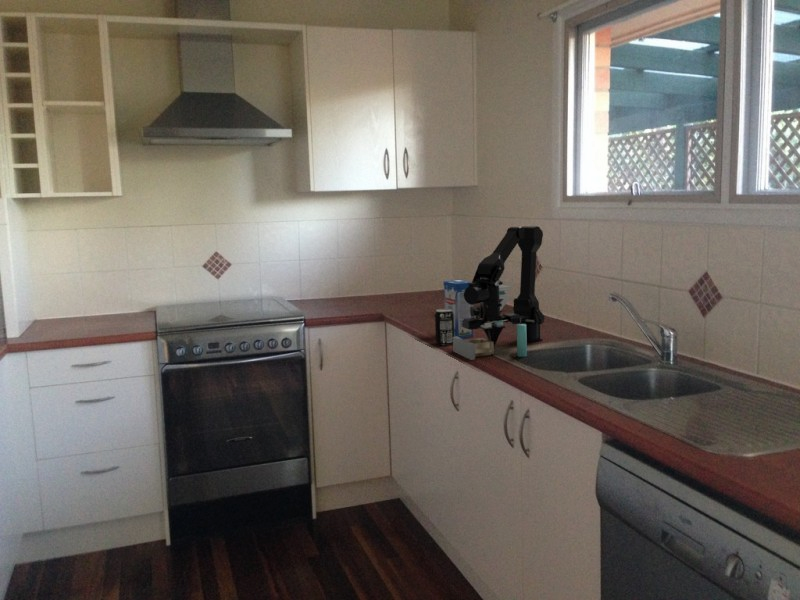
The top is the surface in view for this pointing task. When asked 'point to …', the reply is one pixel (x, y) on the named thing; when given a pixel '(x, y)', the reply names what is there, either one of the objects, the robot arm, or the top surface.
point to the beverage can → (444, 326)
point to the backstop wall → (464, 348)
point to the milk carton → (458, 305)
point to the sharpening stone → (502, 295)
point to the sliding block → (482, 346)
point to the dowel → (521, 340)
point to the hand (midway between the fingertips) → (492, 347)
